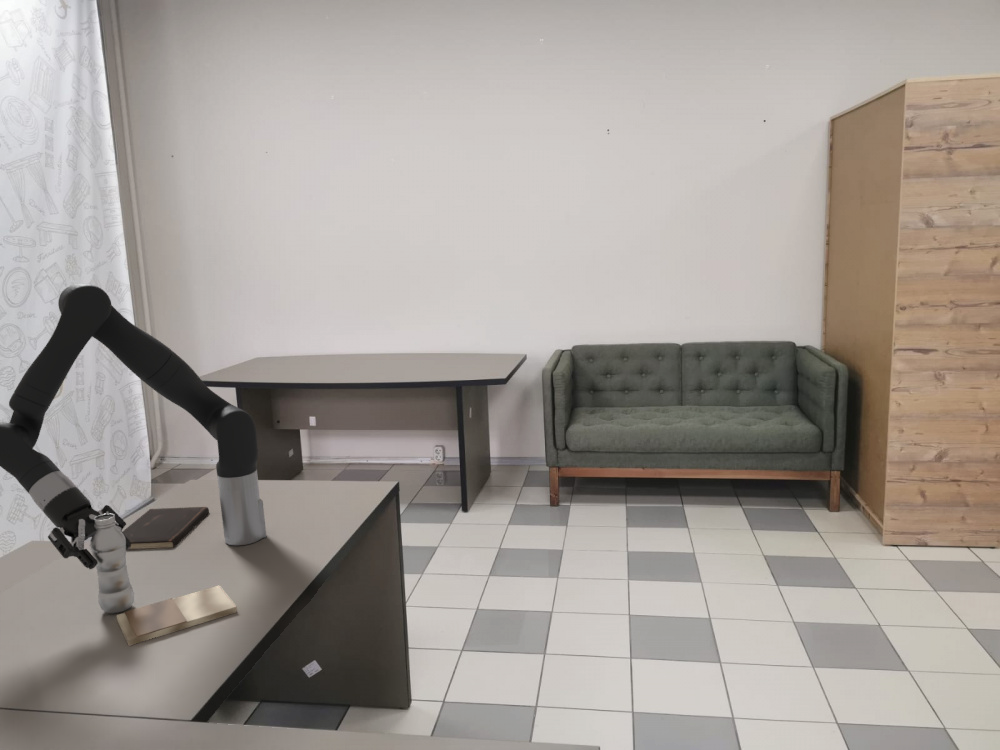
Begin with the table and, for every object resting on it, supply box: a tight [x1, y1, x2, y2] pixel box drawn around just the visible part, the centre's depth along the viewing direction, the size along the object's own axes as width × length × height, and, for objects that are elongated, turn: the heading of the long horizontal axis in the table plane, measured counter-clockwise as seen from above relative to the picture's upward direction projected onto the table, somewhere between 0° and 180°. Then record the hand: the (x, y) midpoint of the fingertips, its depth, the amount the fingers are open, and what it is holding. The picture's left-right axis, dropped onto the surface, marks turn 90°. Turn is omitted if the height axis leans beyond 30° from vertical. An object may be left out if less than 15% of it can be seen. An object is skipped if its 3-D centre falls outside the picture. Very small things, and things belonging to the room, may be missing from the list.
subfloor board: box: [116, 585, 238, 647], centre depth 155 cm, size 20×12×1 cm, turn 125°
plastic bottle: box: [89, 514, 135, 614], centre depth 157 cm, size 6×7×20 cm
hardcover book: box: [122, 506, 210, 550], centre depth 201 cm, size 16×23×2 cm
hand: (111, 557), depth 157 cm, fingers open, 8 cm apart
